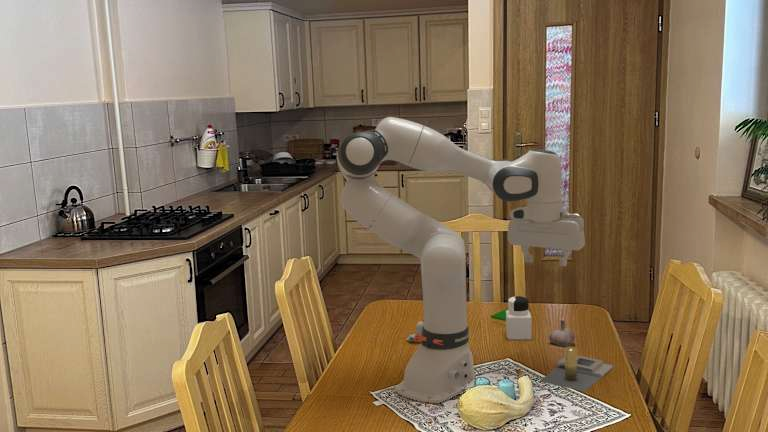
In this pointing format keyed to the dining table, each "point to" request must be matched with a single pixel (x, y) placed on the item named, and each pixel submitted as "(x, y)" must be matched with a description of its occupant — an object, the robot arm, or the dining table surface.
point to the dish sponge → (501, 317)
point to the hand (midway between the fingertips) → (545, 263)
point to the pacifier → (418, 329)
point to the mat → (580, 384)
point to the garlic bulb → (562, 336)
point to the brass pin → (571, 363)
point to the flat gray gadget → (589, 366)
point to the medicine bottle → (518, 319)
